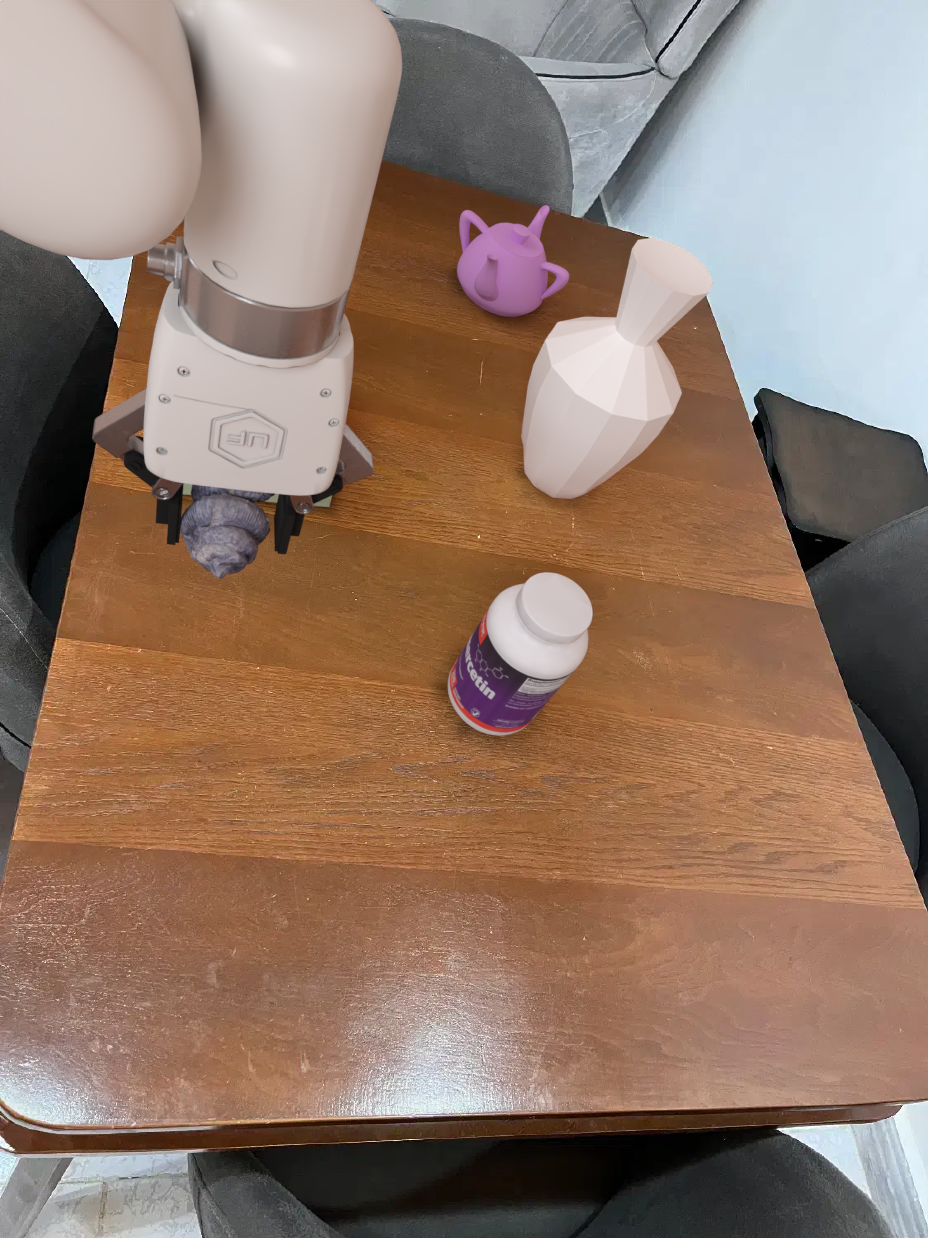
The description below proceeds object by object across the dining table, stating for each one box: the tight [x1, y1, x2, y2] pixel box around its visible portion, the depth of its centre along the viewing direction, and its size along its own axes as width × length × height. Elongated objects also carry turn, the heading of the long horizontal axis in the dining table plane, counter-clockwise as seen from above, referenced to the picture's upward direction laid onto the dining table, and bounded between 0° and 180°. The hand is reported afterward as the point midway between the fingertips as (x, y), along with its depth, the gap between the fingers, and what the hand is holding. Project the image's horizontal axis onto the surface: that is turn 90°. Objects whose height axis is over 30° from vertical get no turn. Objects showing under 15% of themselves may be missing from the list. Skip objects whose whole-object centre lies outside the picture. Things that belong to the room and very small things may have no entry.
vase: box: [520, 237, 714, 500], centre depth 81 cm, size 14×14×25 cm
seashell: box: [180, 484, 275, 580], centre depth 52 cm, size 5×5×10 cm
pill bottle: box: [447, 571, 593, 737], centre depth 66 cm, size 8×8×14 cm
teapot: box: [456, 204, 570, 318], centre depth 102 cm, size 12×14×9 cm
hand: (228, 530), depth 53 cm, fingers closed on seashell, 5 cm apart
